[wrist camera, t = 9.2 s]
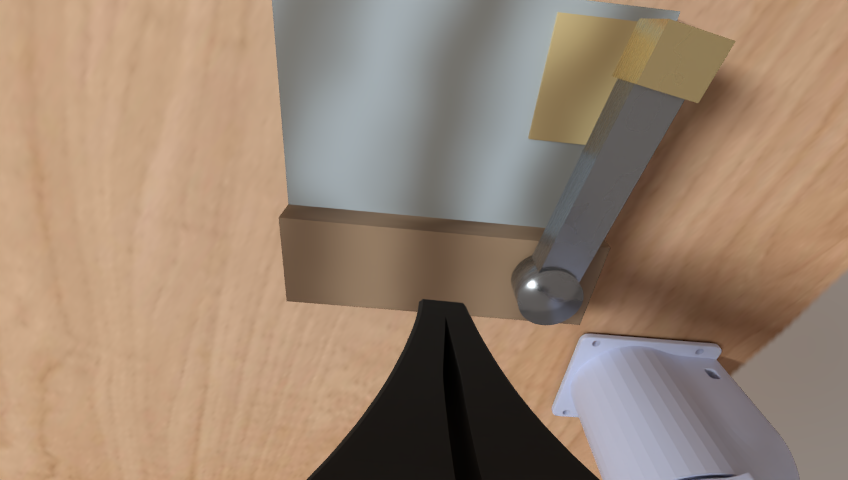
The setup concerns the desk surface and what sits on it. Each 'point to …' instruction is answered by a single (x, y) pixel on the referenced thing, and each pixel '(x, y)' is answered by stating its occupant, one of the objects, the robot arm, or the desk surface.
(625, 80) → the latch bar
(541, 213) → the door board
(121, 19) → the desk surface
